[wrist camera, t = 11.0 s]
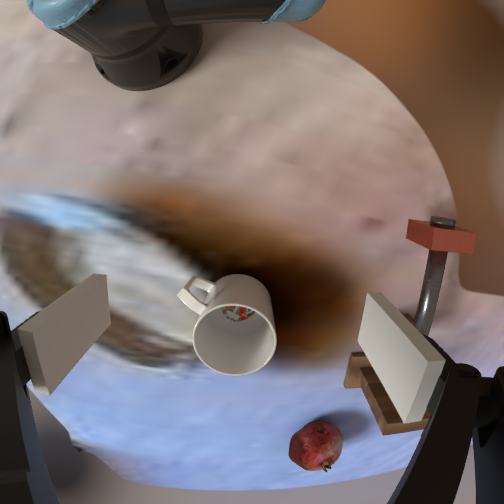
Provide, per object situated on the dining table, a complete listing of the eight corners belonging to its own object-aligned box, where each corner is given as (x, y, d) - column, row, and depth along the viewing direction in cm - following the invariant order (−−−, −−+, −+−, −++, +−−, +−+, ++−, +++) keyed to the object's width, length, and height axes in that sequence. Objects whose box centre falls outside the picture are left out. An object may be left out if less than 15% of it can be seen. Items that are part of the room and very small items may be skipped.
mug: (284, 299, 44) (294, 338, 33) (242, 342, 45) (239, 388, 34) (216, 242, 42) (203, 265, 31) (175, 290, 43) (153, 326, 33)
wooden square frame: (351, 352, 46) (381, 413, 32) (417, 350, 46) (459, 401, 32) (343, 384, 47) (367, 447, 33) (407, 380, 47) (443, 434, 33)
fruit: (277, 441, 50) (280, 482, 40) (304, 406, 48) (313, 449, 38) (319, 451, 51) (327, 491, 41) (348, 419, 49) (362, 459, 39)
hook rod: (409, 211, 36) (436, 219, 29) (449, 217, 36) (478, 225, 30) (382, 352, 40) (399, 378, 34) (420, 350, 40) (440, 374, 34)
